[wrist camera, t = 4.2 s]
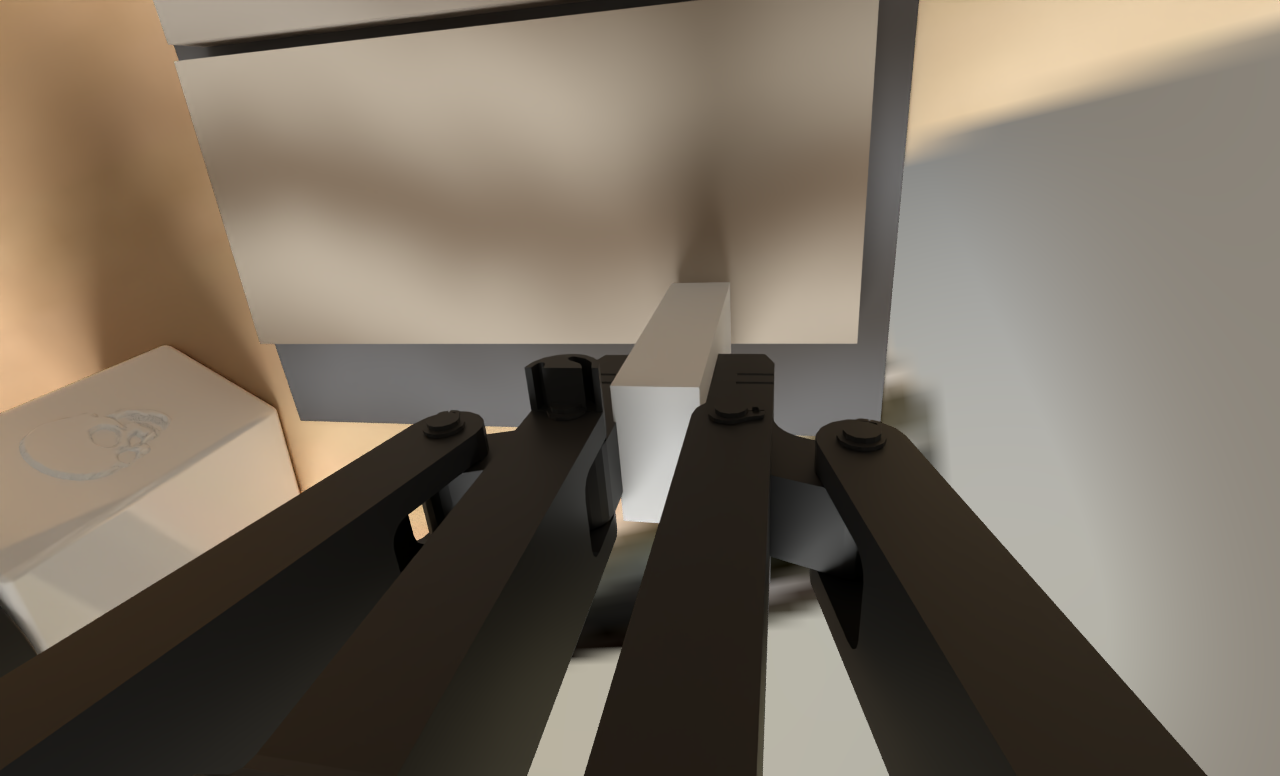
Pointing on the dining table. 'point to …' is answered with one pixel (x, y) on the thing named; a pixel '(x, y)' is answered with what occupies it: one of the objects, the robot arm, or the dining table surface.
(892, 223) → the grey flat panel
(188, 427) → the jar
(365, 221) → the plank
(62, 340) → the dining table surface
